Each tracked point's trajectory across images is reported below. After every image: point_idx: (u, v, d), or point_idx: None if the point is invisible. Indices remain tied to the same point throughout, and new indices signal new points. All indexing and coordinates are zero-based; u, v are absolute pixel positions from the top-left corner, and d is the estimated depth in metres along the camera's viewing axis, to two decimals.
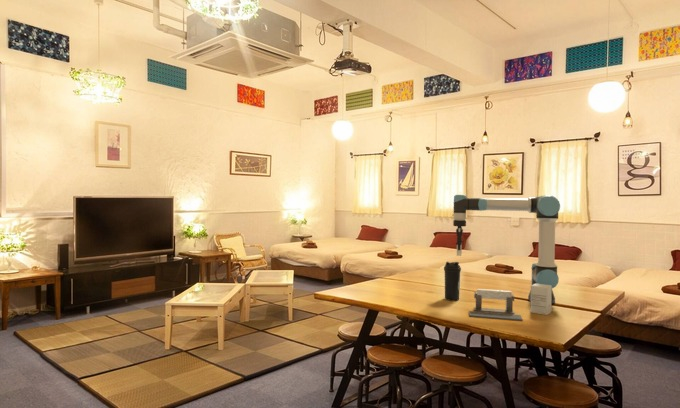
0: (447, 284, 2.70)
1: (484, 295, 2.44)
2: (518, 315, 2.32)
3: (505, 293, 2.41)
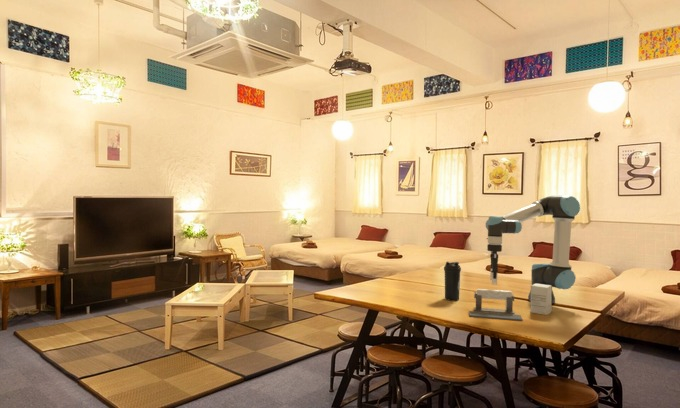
0: (447, 284, 2.70)
1: (484, 295, 2.44)
2: (518, 315, 2.32)
3: (505, 293, 2.41)
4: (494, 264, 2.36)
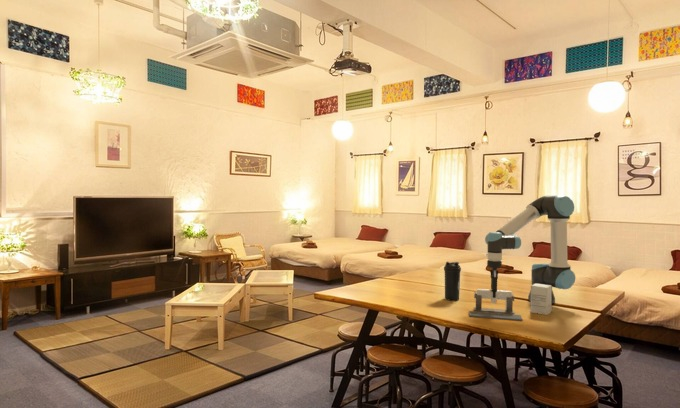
0: (447, 284, 2.70)
1: (484, 295, 2.44)
2: (518, 315, 2.32)
3: (505, 293, 2.41)
4: (494, 284, 2.39)
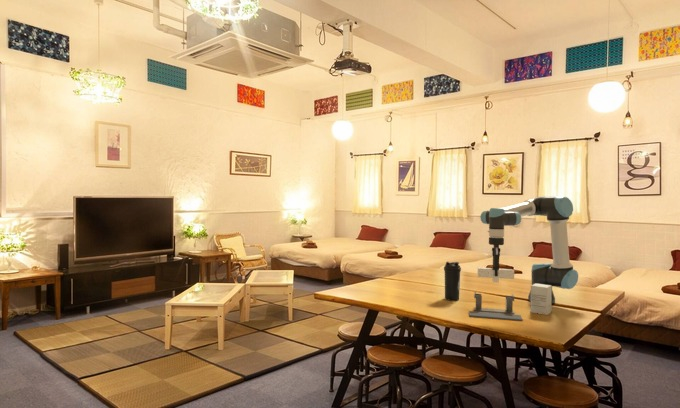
0: (447, 284, 2.70)
1: (486, 273, 2.32)
2: (518, 315, 2.32)
3: (507, 271, 2.29)
4: (495, 262, 2.27)
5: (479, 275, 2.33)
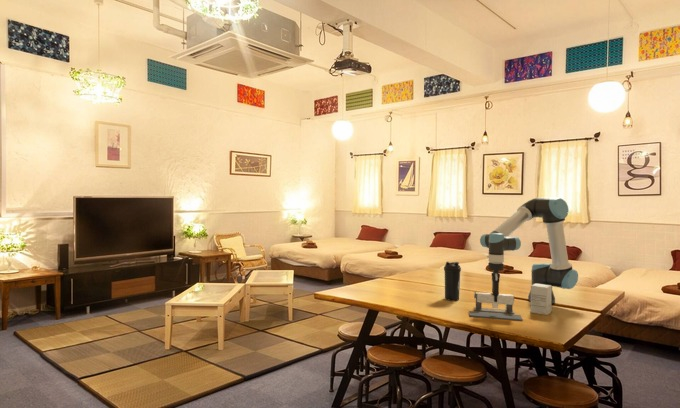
0: (447, 284, 2.70)
1: (485, 299, 2.32)
2: (518, 315, 2.32)
3: (507, 297, 2.29)
4: (495, 287, 2.27)
5: (479, 300, 2.33)
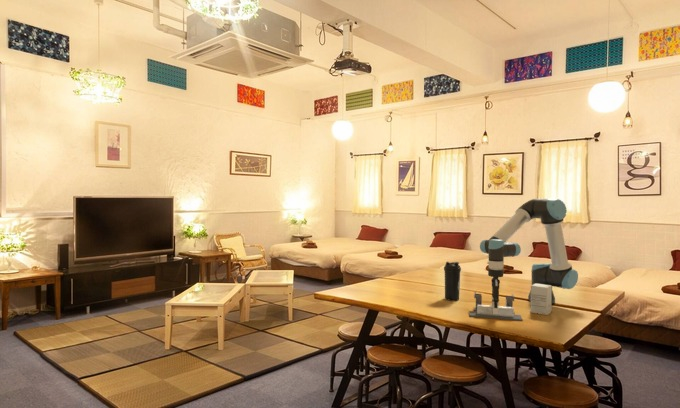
0: (447, 284, 2.70)
1: (485, 311, 2.32)
2: (518, 315, 2.32)
3: (507, 310, 2.29)
4: (495, 293, 2.26)
5: (478, 313, 2.33)
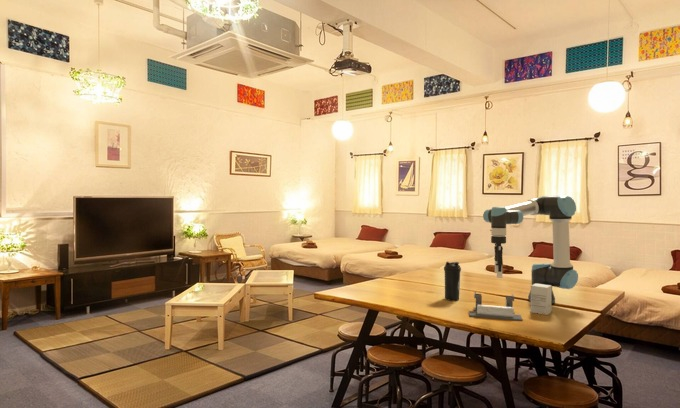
0: (447, 284, 2.70)
1: (485, 311, 2.32)
2: (518, 315, 2.32)
3: (507, 310, 2.29)
4: (499, 257, 2.27)
5: (478, 313, 2.33)
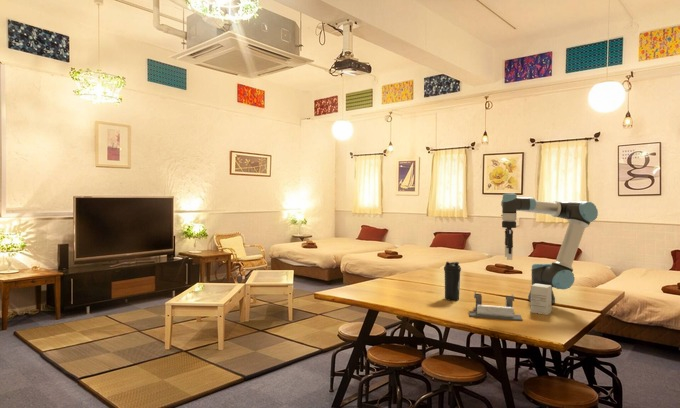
0: (447, 284, 2.70)
1: (485, 311, 2.32)
2: (518, 315, 2.32)
3: (507, 310, 2.29)
4: (509, 240, 2.41)
5: (478, 313, 2.33)
